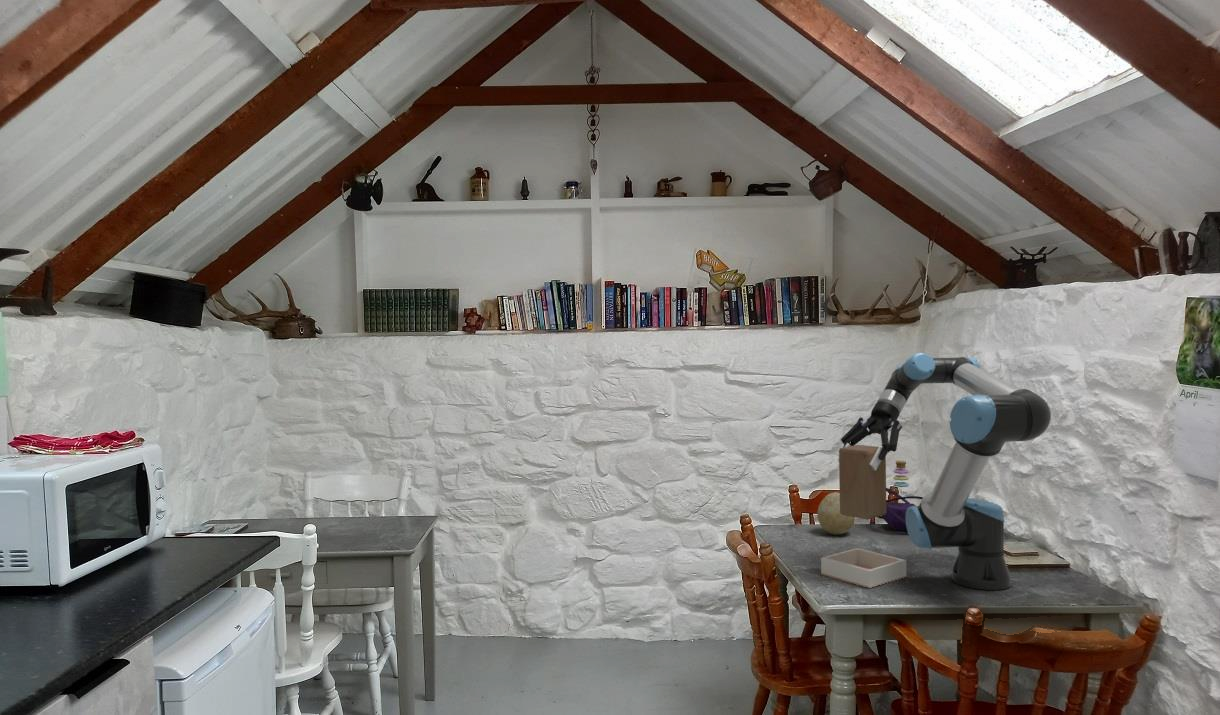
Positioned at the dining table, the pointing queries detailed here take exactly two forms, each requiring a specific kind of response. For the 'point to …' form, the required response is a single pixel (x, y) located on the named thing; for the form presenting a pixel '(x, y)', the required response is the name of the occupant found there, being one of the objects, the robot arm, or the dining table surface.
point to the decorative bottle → (898, 510)
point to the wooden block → (861, 483)
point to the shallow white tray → (863, 567)
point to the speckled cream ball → (833, 515)
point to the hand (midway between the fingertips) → (856, 465)
